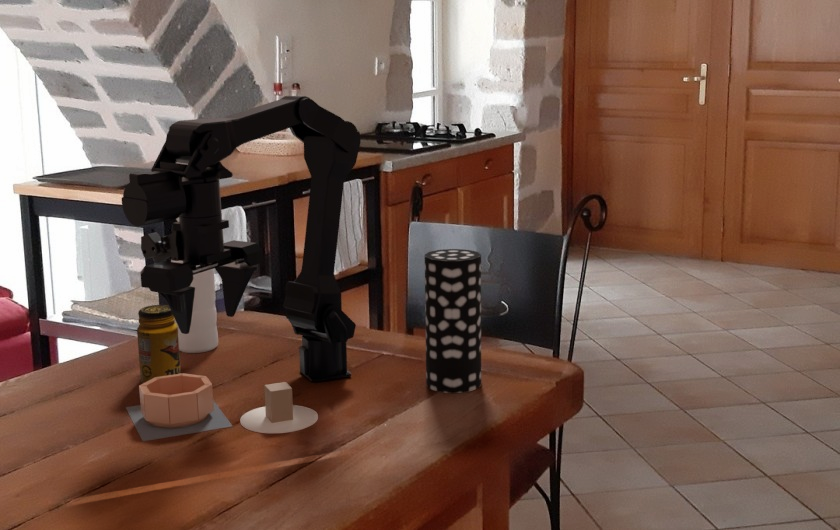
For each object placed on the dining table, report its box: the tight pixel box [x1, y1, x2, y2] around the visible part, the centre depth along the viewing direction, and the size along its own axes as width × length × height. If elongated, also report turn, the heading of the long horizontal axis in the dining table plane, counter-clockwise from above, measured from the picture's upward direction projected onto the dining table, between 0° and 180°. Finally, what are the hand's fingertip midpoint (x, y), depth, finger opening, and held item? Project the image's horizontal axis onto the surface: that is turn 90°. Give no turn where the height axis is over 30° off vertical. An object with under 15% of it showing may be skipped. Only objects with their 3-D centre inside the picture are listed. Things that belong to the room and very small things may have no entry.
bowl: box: [138, 372, 214, 428], centre depth 148 cm, size 9×9×5 cm
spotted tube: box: [424, 248, 482, 394], centre depth 160 cm, size 8×8×20 cm
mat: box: [125, 400, 234, 442], centre depth 149 cm, size 12×14×1 cm
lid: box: [240, 381, 319, 434], centre depth 147 cm, size 11×11×6 cm
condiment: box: [136, 304, 181, 384], centre depth 163 cm, size 7×8×12 cm
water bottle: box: [170, 217, 219, 354], centre depth 179 cm, size 7×7×25 cm
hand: (208, 324), depth 149 cm, fingers open, 9 cm apart
